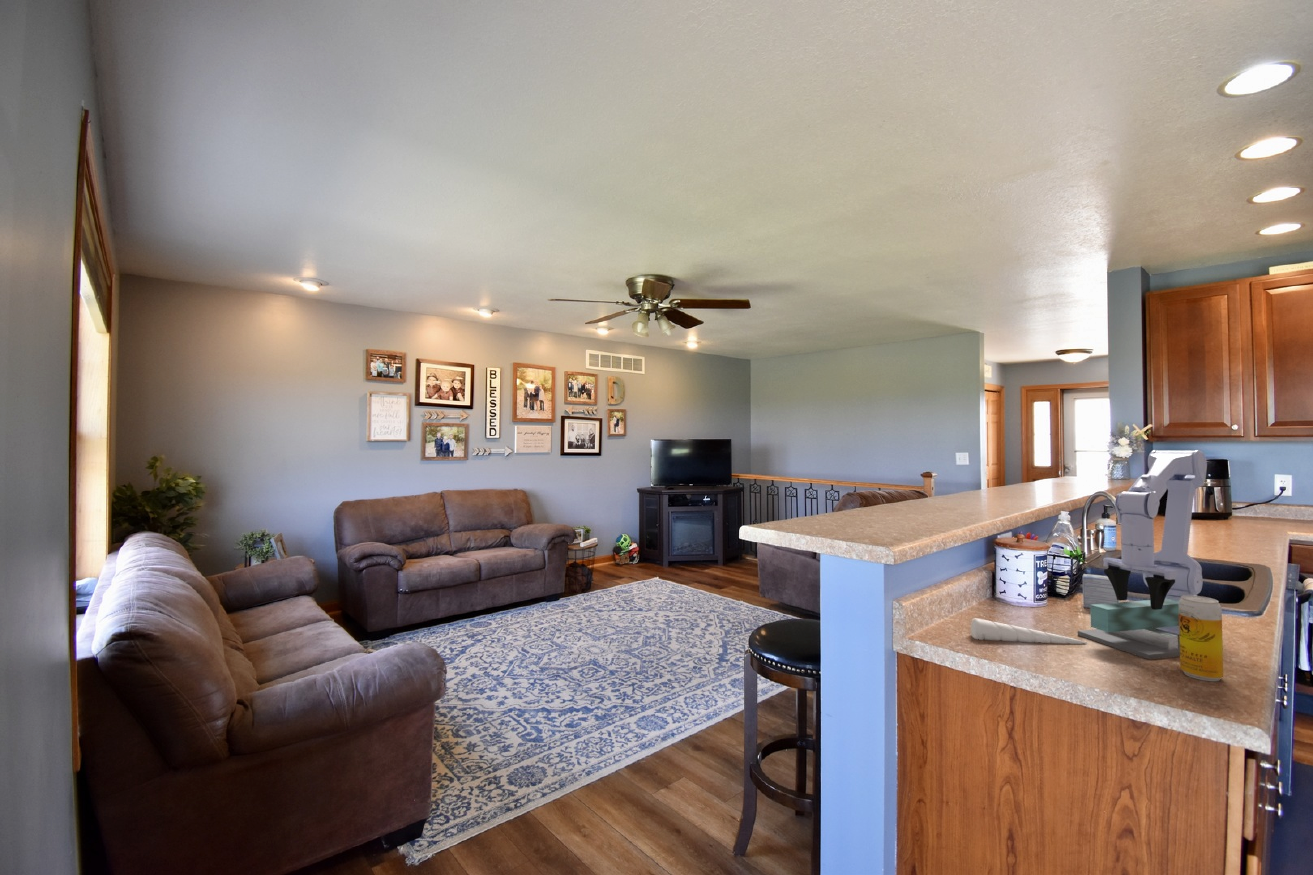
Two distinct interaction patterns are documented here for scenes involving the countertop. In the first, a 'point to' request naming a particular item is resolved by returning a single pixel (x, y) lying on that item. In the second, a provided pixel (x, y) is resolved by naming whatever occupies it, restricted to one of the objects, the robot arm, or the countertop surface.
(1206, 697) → the countertop surface
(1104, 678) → the countertop surface
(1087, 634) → the ridge stand
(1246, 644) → the countertop surface
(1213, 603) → the beer can
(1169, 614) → the teal wavy bar
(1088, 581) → the medicine box
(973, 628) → the unicorn horn
